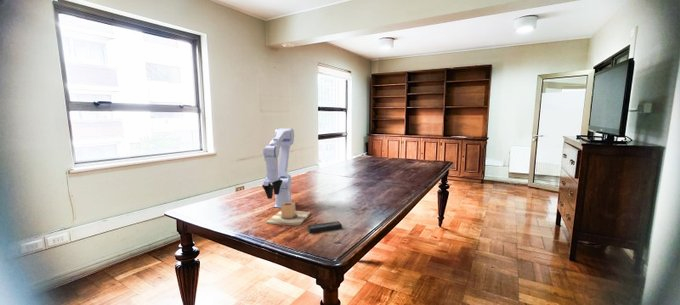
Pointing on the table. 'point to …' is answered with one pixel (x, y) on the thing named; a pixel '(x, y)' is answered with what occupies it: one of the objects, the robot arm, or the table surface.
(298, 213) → the post board
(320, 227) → the multiport hub
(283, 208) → the collar
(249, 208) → the table surface
